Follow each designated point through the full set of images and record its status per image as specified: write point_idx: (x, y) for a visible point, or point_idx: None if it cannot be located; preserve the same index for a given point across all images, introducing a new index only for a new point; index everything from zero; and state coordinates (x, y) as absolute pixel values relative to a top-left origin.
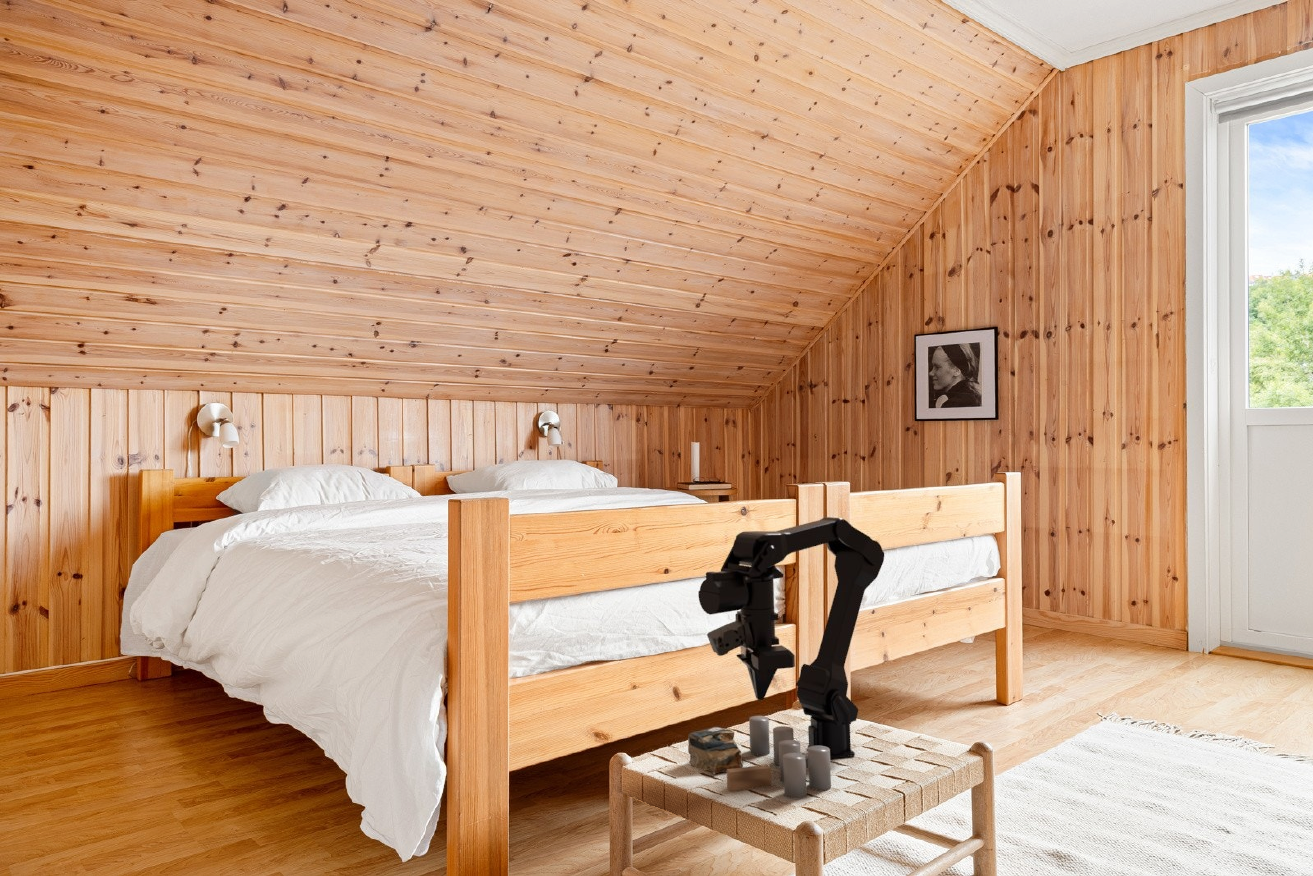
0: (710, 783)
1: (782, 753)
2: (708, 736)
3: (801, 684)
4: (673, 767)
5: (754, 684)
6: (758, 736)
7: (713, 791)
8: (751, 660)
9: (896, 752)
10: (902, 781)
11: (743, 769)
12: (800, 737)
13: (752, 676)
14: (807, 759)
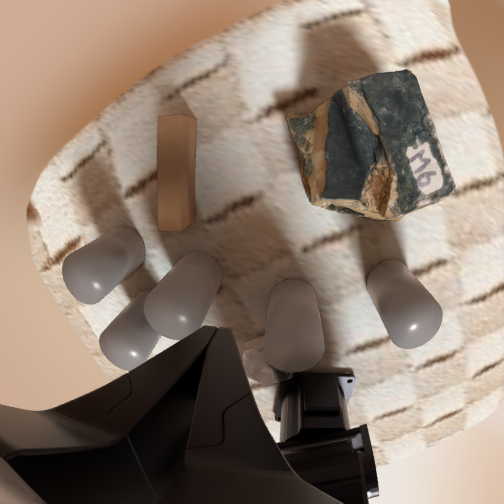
0: (238, 89)
1: (164, 279)
2: (370, 116)
3: (336, 490)
4: (372, 46)
5: (177, 367)
6: (383, 292)
7: (189, 84)
8: (33, 498)
9: None
10: None
11: (165, 158)
12: (412, 379)
13: (196, 408)
14: (259, 345)
